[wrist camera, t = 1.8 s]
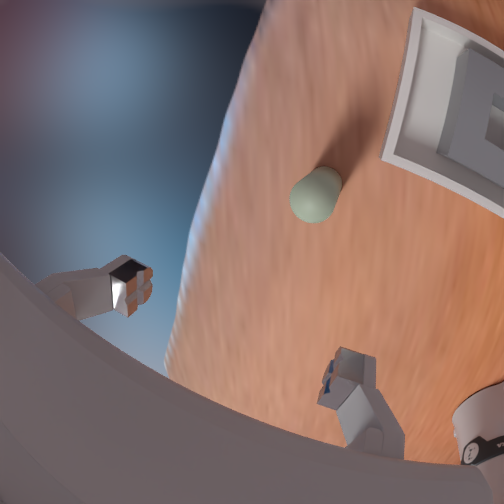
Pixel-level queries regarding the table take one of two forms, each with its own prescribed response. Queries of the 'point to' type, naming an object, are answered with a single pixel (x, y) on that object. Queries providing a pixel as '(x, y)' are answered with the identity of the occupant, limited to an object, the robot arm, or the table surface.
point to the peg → (316, 195)
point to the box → (450, 111)
